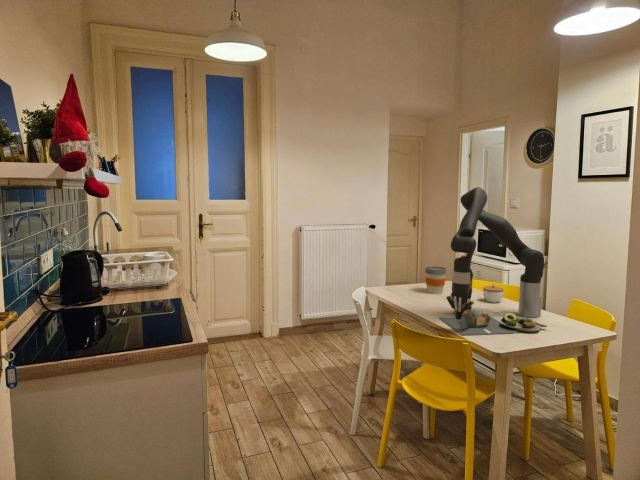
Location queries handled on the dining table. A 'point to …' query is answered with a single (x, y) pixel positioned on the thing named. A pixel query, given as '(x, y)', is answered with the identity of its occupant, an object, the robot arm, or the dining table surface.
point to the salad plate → (519, 323)
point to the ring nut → (473, 319)
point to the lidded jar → (493, 293)
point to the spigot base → (477, 326)
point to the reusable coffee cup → (435, 279)
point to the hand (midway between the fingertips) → (458, 319)
